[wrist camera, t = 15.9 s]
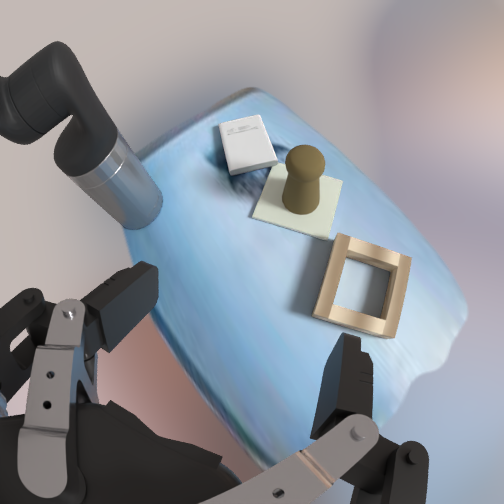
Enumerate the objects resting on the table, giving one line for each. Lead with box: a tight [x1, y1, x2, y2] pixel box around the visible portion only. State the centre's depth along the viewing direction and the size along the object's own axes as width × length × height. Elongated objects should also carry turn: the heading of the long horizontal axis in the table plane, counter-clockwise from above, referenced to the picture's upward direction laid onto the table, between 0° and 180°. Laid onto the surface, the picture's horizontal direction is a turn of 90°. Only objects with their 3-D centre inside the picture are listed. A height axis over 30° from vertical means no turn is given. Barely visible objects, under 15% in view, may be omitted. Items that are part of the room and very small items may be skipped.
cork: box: [282, 145, 325, 215], centre depth 39 cm, size 6×6×11 cm
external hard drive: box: [219, 115, 278, 176], centre depth 48 cm, size 2×8×12 cm
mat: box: [252, 163, 343, 241], centre depth 44 cm, size 12×11×1 cm
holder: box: [312, 233, 412, 339], centre depth 38 cm, size 12×12×3 cm
